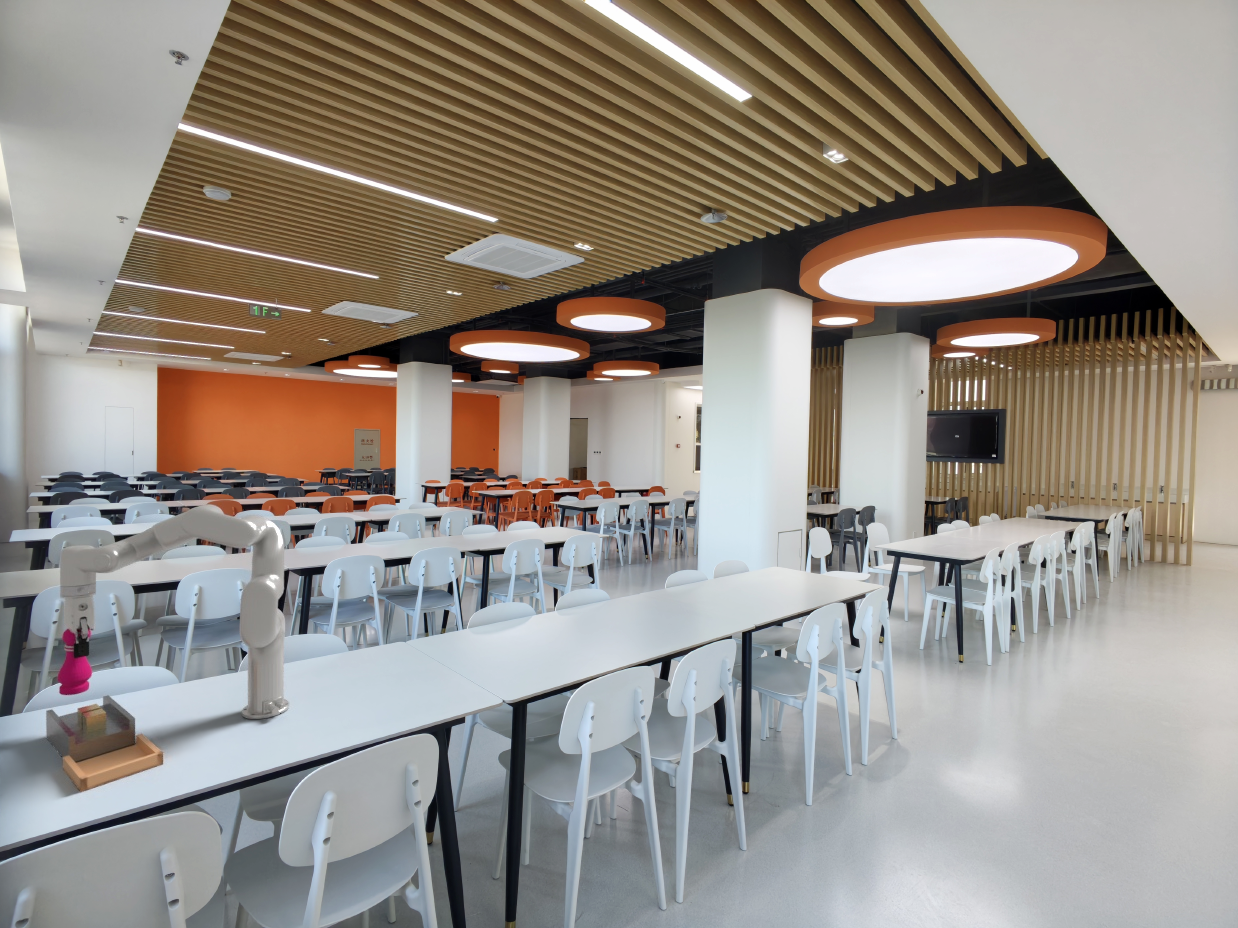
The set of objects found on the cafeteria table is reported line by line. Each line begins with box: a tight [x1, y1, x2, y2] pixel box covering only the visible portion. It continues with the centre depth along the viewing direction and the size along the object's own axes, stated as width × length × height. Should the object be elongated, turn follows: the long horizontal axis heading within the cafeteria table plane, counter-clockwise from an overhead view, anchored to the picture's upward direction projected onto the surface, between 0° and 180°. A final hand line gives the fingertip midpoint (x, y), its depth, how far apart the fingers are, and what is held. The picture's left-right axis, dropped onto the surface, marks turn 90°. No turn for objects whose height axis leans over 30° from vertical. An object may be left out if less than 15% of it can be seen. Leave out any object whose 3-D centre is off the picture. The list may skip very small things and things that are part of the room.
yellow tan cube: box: [76, 703, 101, 727], centre depth 166 cm, size 4×4×4 cm
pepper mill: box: [57, 628, 93, 696], centre depth 171 cm, size 7×7×20 cm
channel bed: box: [45, 695, 136, 763], centre depth 165 cm, size 24×13×8 cm, turn 53°
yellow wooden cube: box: [83, 709, 106, 733], centre depth 163 cm, size 4×4×4 cm
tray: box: [62, 733, 164, 793], centre depth 153 cm, size 16×16×3 cm
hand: (78, 653), depth 171 cm, fingers closed on pepper mill, 5 cm apart
